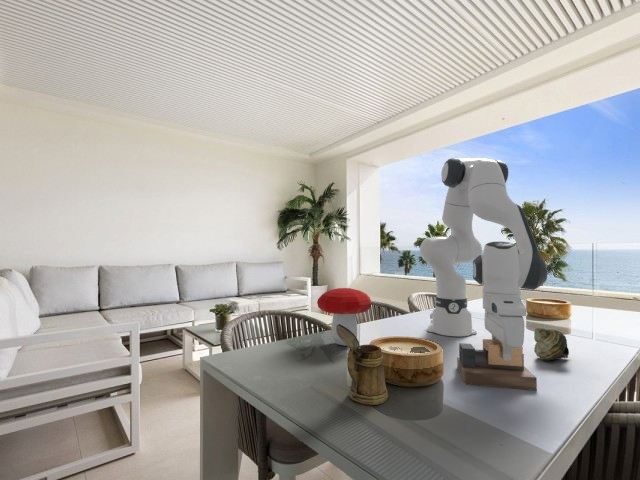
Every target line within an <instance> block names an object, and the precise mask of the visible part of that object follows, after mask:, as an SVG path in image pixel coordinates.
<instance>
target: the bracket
mask: <svg viewBox="0 0 640 480" xmlns="http://www.w3.org/2000/svg"><path fill="white" fill-rule="evenodd" d="M458 345H459V347H458V348H459V349H458V351H459V355H458V356H457V357H456V360H457V361H456V365H457V367H456V368H457V370H458V372H459V374H460V376H461V378H462V379H463V382H464V383H465V385H469V386H481V387H492V388H506V389H507V388H508V389H517V390H528V391H529V390H531V391H537V390H538V386H537V385H538V384H537V383H538V381H537V377H536V375H535V374H533V373H532V372H531V371H530V370H529V369H528V368H527V367H525V360H524V359H525V357H524V353H523V367H522V366H507V365H492V364H488V363H487V350H483V349H476V348H475V347H474V346H473V344H472V343H466V342H465V343H463V342H459V344H458Z"/></svg>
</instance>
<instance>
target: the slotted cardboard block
mask: <svg viewBox="0 0 640 480" xmlns="http://www.w3.org/2000/svg"><path fill="white" fill-rule="evenodd" d="M523 347H524V346H522V348H513V350H512V353H511V360H510V361H505V360H503V359H502V355H501V352H502V351H503V347H502V343H501V342H500V341H499V340H493V339H492V338H491V339H490V338H488V339H487V338H483V339H482V350H487V363H488V364H492V365H507V366H522V367H523V354H524V353H523V350H524V349H523Z"/></svg>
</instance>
